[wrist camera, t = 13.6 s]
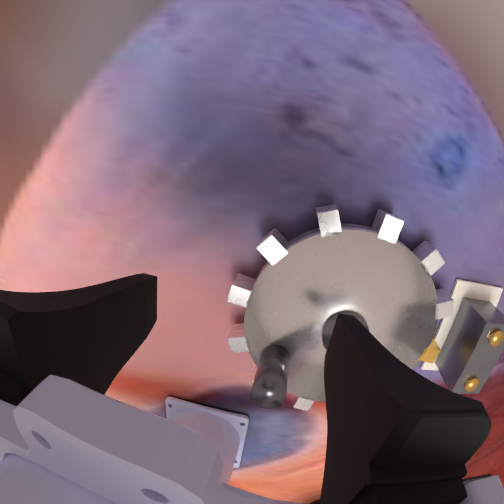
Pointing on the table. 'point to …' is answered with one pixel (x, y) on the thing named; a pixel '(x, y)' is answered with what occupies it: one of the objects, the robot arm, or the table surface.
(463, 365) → the gray knob block
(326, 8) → the table surface
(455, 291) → the pad
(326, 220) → the sprocket
